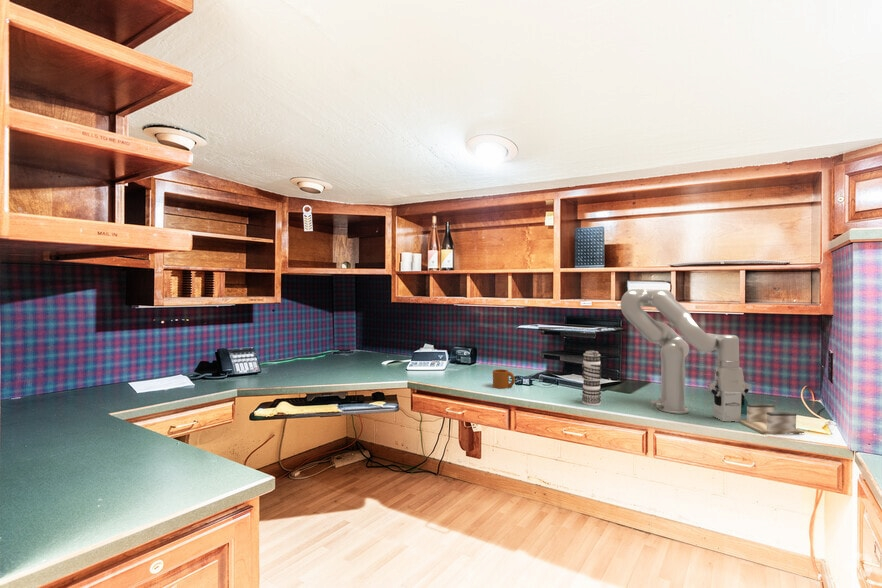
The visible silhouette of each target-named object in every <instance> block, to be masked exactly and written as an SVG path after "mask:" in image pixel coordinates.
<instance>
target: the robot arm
mask: <svg viewBox="0 0 882 588" xmlns="http://www.w3.org/2000/svg"><path fill="white" fill-rule="evenodd" d="M642 307H644V308H645V307H646V308H655V310H657V311H659V313H660V314H661V315H662V316H664V317H665V319H667V321H669V322H670V323H671V324H672V325H673V326H674V328H675V329H676V330H677V331H678V332H679V334H680V335H681V336H680V335H679V334H678V333H677V332H676V331H675V330H674V329H673V328H672V327H671V326H669V325H668V324H667V323H665V322H662V321H657V320H656V319H654V318H653V317H652V316H651V315H650V314H649V313H648V312H646V311H645V310H644V309H643V308H642ZM620 310H621V313H622V314H623V316H624V318H625V319H626V320H627V321H628V322H629V323H631V325H632V326H634V328H635V329H636V330H637V331H638V332H639V333H640V334H641V335H642V336H643V337H644V338H645V339H646V340H647V341H648V342H650V343H652V344H658V345H659V346H660V347H661V348H660V354H659V355H660V363H661V364H660V365H661V368H660V369H661V373H660V374H661V375H660V376H661V377H660V379H661V381H660V398H658V399H657V400H649V404H650V405H651V406H656V409H658V411H661V412H664V413H669V414H677V415H678V414H679V415H680V414H681V415H683V414H688V413H689V411H690V410H689V408H688V407H686V406H685V405H686V403H685V401H686V399H685V398H686V364H685V363H686V361H685V358H686V357H687V356H688V354H689V352H690V346H689V344H690V345H691V346H692V347H693V348H695V349H696V350H697V351H699V353H700V352H701V353H705V354H706V353H710V352H712V351H714V350H715V351H717V361H715V362H714V364H715V366H717V367H715V374H714V381H713V382H711V383H708V385H707V388H708V390H709V392H710V393H711V394H712V395H713V403H714V402H715V404H716V405H718V406H721V396H719V395H720V394H721V393H722V392H741V405H744V402H745V399H746V398H745V397H746V395H747V394H748V392H749V390H750V388H751V386H752V385H751V384H750V383H748V382H746V381H745V378H744V377H745V376H744V372H743V368H742V367H740V338H739V337H738V335H734V334H717V333H716V334H715V333H709V332H707V333H706V332H705V331H704V330H703V328H701V327H700V326H699V325H698V324H697V323H696V322H695V320H694V319H693V316H692V314H691V313H690V311H689V310H688V309H686V308H685V307H684V306H683V305H682V304H681V302H678V300H676V299H675V294H673V293H672V292H671V291H669V290H668V289H667V290H666V289H643V288H642V289H639V288H638V289H629V290H627V291H626V292H625V293H624V294H623V295H622V296H621V299H620ZM683 338H684V339H683ZM685 340H686V341H687V342H688V343H689V344H688V343H687V342H686V341H685ZM714 388H715V390H714Z"/></svg>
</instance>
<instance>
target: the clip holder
mask: <svg viewBox="0 0 882 588" xmlns="http://www.w3.org/2000/svg"><path fill="white" fill-rule="evenodd" d="M740 423H741V425H742V426H745V427H747V428H748V429H751V430H753V431H755V432H757V433H759V434H762V435H790V434H789V433H794V434H793V435H798V434H797V433H804V434H805V430H802V429H799V428H797V413H796V412H793V411H792V412H791V411H790V412H789V411H783V412H781V411H780V412H779V411H777V412H776V411H775V405H774V404H772V403H748V404H747V415H746V419H745V420H744V419H743V420H742V419H741V420H739V422H738V424H740ZM796 428H797V429H796ZM785 433H787V434H785Z"/></svg>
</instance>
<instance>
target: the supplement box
mask: <svg viewBox="0 0 882 588" xmlns="http://www.w3.org/2000/svg"><path fill="white" fill-rule="evenodd" d="M713 389H714V390H715V387H713ZM719 396H721V406H718V405H716V404H715V402H714V401H713V412H712V413H713V415H712V417H714V418H715V417H716V419H717V418H718V420H719V419H720V420H719V421H721V420H722V421H721V422H723V421H725V422H731V421H735V422H737V423H739V420H742V415H741V392H722V393H721V394H720V395H719Z"/></svg>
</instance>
